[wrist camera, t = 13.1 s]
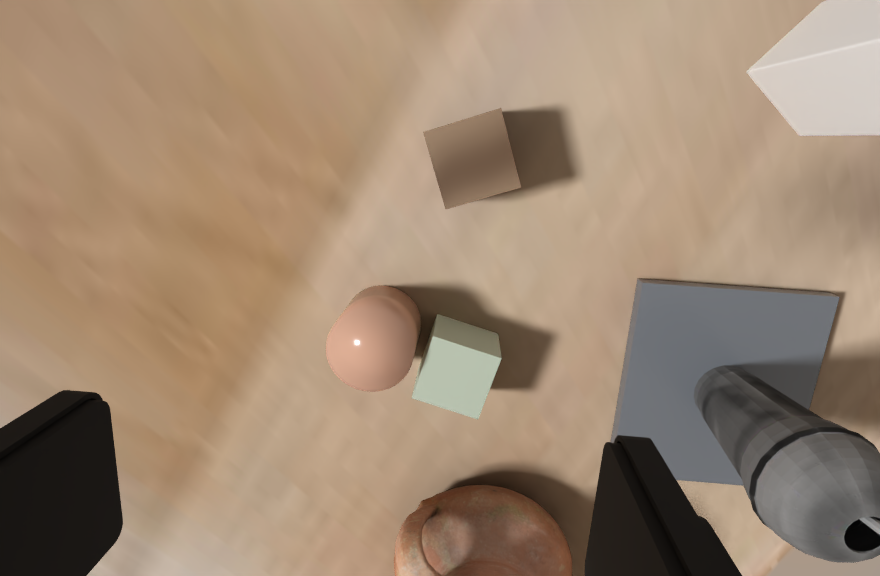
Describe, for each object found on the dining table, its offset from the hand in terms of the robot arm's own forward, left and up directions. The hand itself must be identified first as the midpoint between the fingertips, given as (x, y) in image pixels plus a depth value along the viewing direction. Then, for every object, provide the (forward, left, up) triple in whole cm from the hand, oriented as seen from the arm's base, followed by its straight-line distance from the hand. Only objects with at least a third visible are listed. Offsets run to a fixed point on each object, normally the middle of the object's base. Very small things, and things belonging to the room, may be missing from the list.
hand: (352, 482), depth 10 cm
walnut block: (-5, +2, -31) cm, 32 cm away
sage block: (+10, +2, -31) cm, 33 cm away
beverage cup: (+11, +22, -30) cm, 39 cm away
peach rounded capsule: (+8, -4, -31) cm, 33 cm away
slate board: (+11, +22, -31) cm, 40 cm away
